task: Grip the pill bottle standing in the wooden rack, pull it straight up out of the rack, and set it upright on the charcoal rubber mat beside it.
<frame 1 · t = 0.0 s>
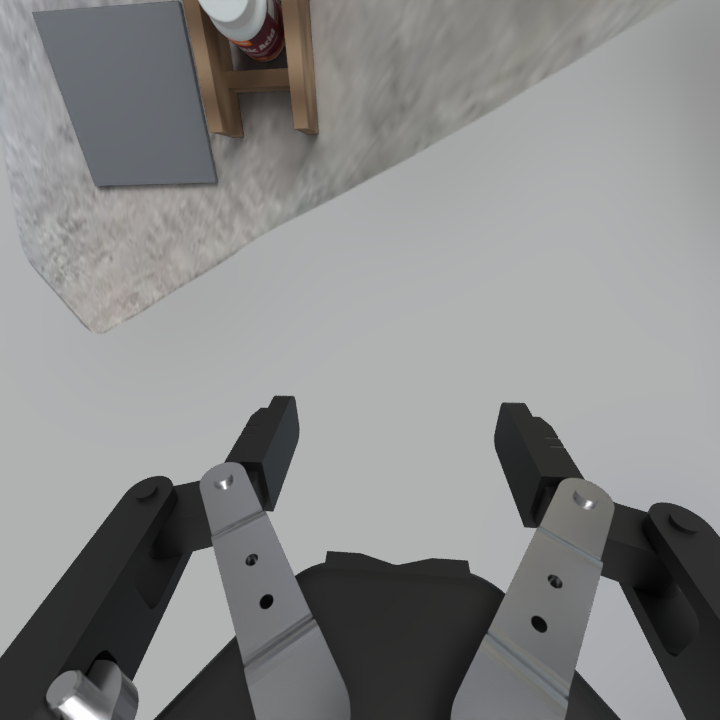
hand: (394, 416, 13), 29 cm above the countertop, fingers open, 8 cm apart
mat: (134, 105, 34), on the countertop
wooden rack: (261, 28, 30), on the countertop
pill bottle: (262, 29, 30), resting in wooden rack
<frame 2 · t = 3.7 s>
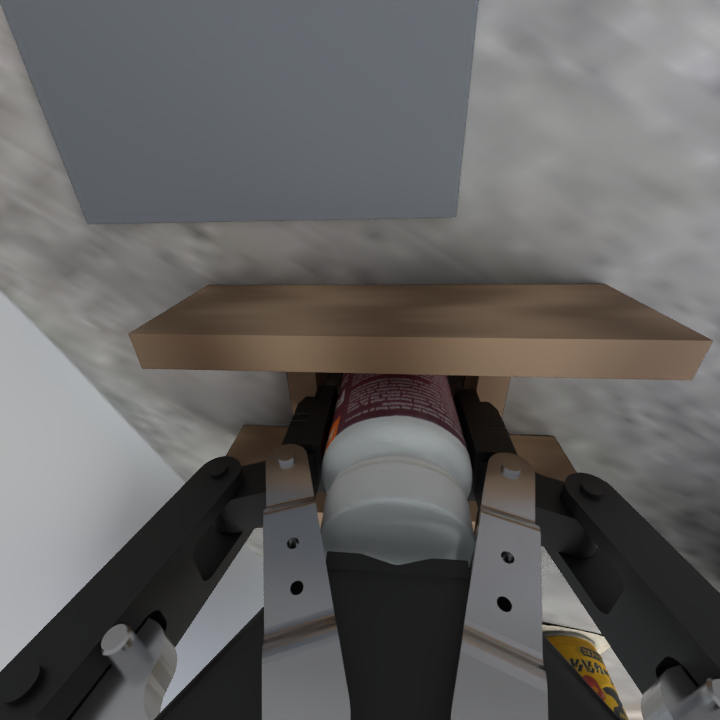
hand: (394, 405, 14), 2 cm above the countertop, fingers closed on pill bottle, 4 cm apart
wooden rack: (394, 377, 16), on the countertop
pill bottle: (394, 375, 16), resting in wooden rack, touching gripper
condiment: (546, 647, 28), on the countertop
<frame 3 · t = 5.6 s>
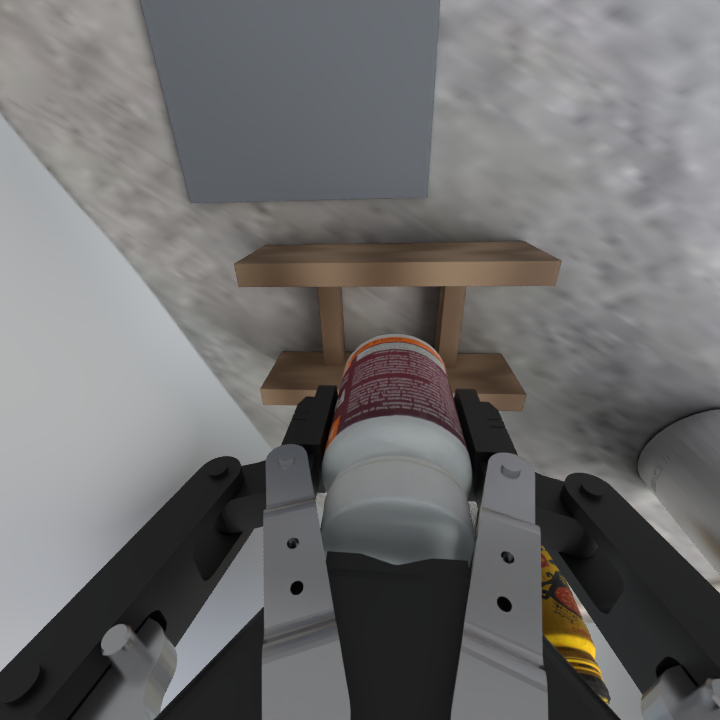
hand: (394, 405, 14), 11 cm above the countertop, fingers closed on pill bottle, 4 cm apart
mat: (292, 42, 17), on the countertop
wooden rack: (389, 310, 23), on the countertop
pill bottle: (394, 374, 16), point 8 cm above the countertop, touching gripper
condiment: (511, 545, 35), on the countertop
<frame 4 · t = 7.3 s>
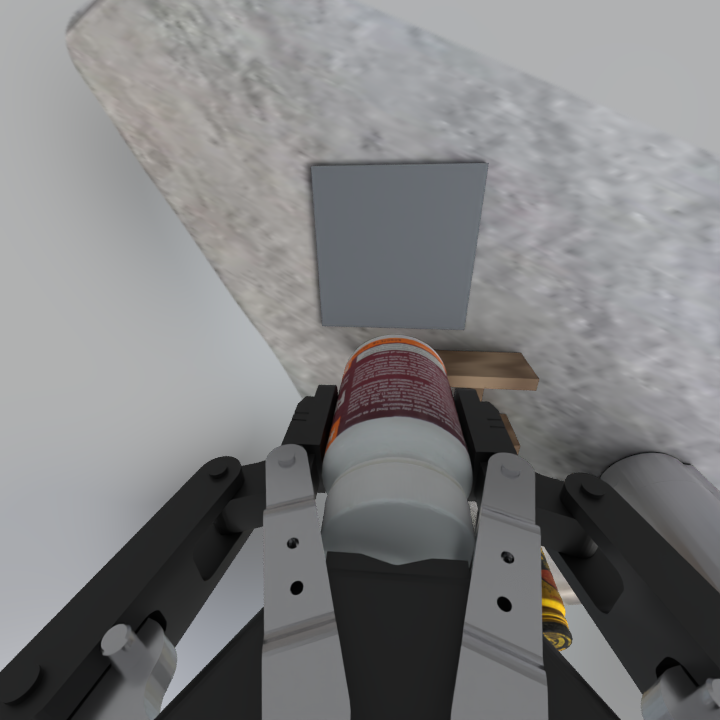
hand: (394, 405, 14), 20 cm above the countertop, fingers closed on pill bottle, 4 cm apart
mat: (394, 254, 30), on the countertop
wooden rack: (435, 386, 37), on the countertop
pill bottle: (394, 375, 16), point 18 cm above the countertop, touching gripper
condiment: (510, 542, 48), on the countertop
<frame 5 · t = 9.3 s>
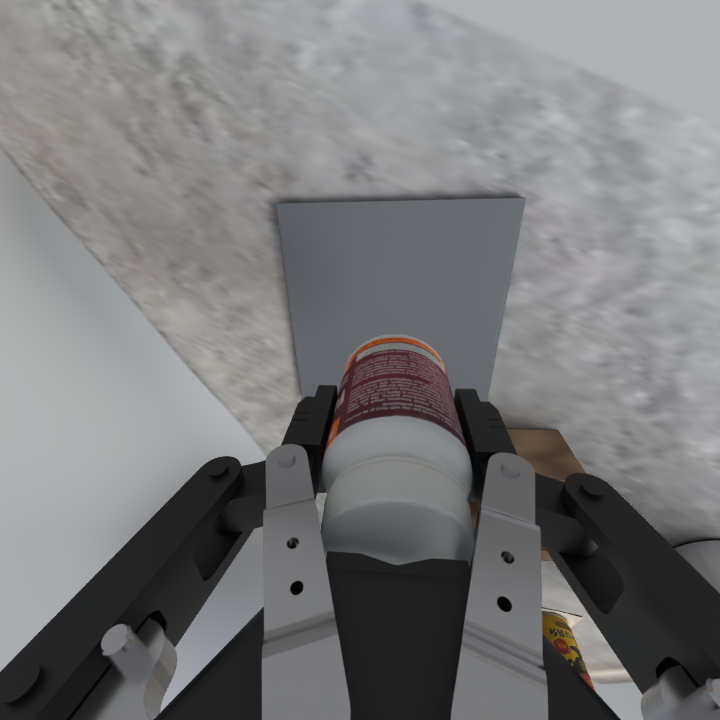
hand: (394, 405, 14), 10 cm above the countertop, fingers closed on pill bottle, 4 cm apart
mat: (393, 314, 23), on the countertop
wooden rack: (448, 466, 29), on the countertop
pill bottle: (393, 375, 16), point 8 cm above the countertop, touching gripper
condiment: (535, 623, 41), on the countertop
when the fingers open (4 cm above the countertop, at t = 11.0 s): pill bottle stays where it is, resting on mat.
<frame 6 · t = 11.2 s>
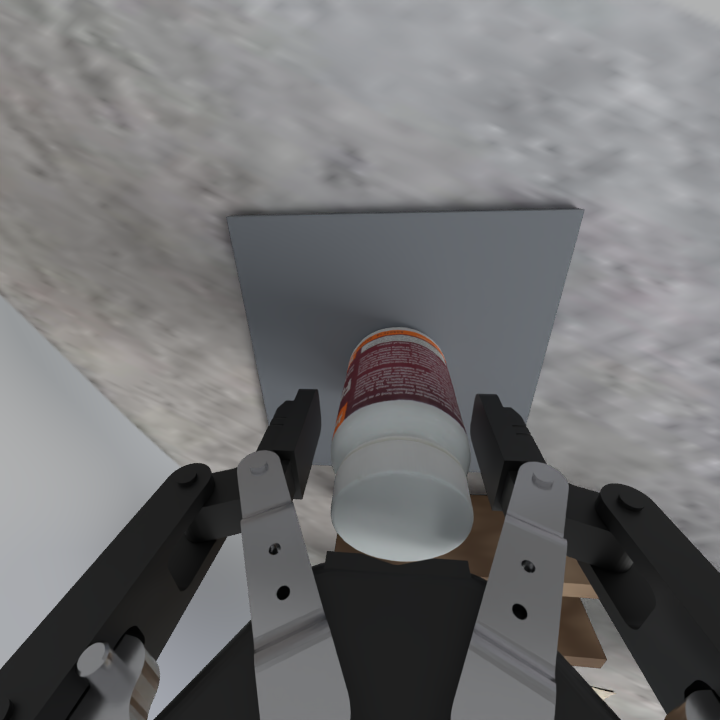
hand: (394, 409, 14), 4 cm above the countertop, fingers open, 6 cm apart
mat: (393, 362, 17), on the countertop
wooden rack: (461, 537, 23), on the countertop
pill bottle: (396, 366, 17), resting on mat
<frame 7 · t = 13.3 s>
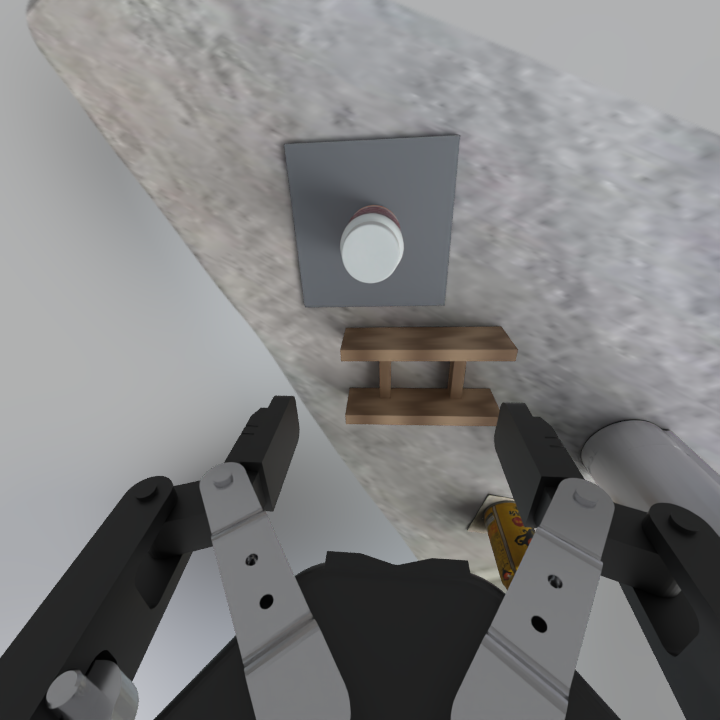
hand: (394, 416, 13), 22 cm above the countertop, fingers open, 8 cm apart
mat: (372, 231, 31), on the countertop
wooden rack: (420, 364, 37), on the countertop
pill bottle: (373, 233, 30), resting on mat
condiment: (500, 515, 49), on the countertop
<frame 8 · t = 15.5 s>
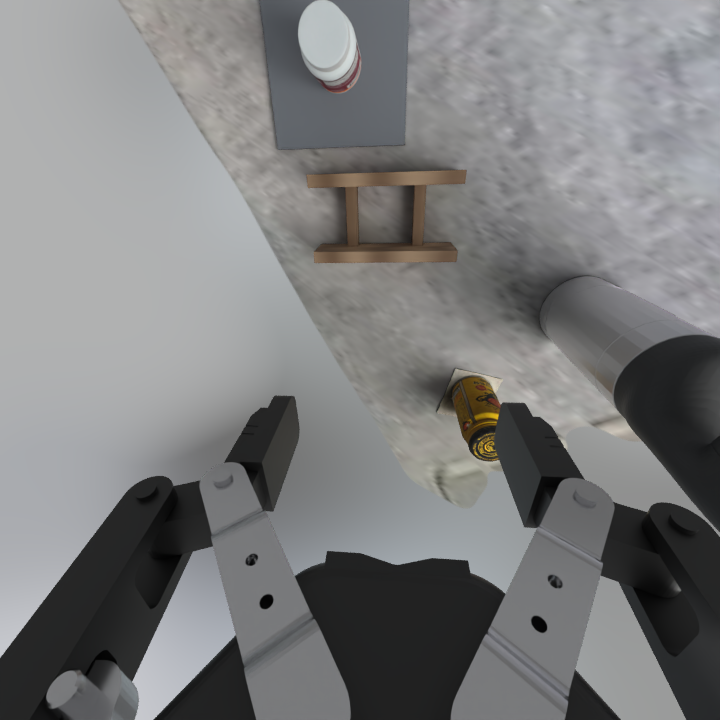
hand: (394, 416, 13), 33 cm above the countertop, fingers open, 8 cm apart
mat: (337, 65, 34), on the countertop
wooden rack: (385, 214, 40), on the countertop
pill bottle: (338, 65, 34), resting on mat
condiment: (468, 395, 52), on the countertop
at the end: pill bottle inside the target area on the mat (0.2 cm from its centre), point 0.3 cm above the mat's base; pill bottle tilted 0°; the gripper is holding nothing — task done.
